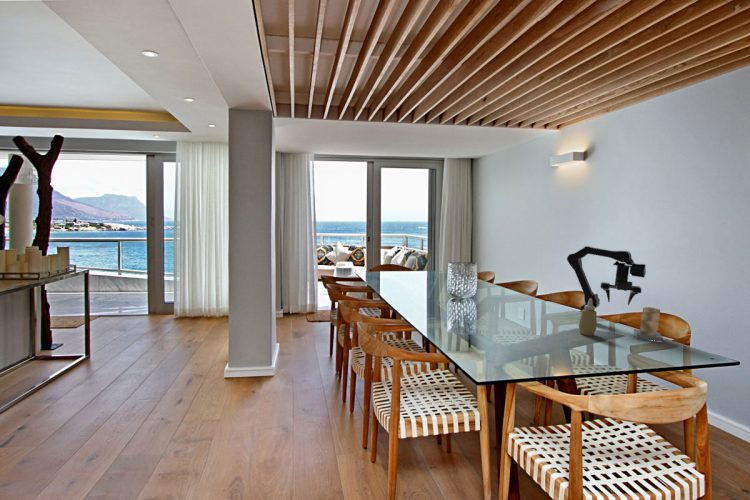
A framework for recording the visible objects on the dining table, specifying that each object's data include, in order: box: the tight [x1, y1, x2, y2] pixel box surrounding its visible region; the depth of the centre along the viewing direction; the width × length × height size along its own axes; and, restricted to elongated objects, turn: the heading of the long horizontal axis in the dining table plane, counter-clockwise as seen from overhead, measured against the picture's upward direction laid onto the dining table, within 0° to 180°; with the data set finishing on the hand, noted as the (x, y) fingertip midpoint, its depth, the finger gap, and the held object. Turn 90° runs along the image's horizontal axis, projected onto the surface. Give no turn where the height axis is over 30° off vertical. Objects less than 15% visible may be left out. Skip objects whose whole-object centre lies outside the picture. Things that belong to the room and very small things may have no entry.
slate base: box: [633, 328, 664, 342], centre depth 224 cm, size 11×11×2 cm
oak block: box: [639, 306, 661, 335], centre depth 223 cm, size 6×6×12 cm
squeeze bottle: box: [578, 299, 597, 337], centre depth 223 cm, size 8×8×18 cm
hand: (618, 303), depth 240 cm, fingers open, 9 cm apart
